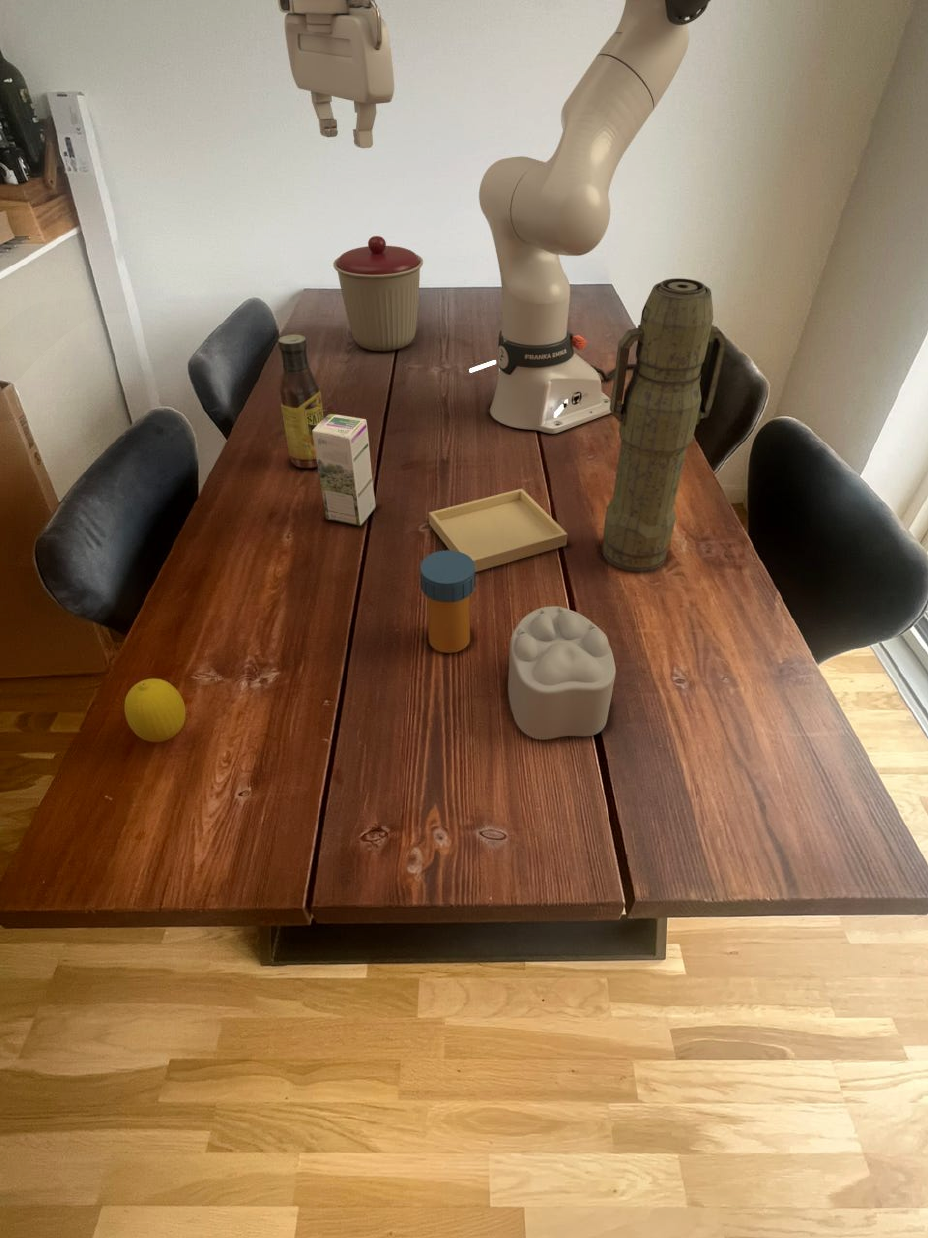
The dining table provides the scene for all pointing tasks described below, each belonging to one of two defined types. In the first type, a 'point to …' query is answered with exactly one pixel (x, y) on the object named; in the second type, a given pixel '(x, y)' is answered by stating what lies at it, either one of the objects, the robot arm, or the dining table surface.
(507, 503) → the tray
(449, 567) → the lid
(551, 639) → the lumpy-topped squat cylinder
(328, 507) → the syrup box
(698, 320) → the thermos
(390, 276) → the canister
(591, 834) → the dining table surface
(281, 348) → the sauce bottle
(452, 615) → the jar
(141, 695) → the lemon
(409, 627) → the dining table surface
